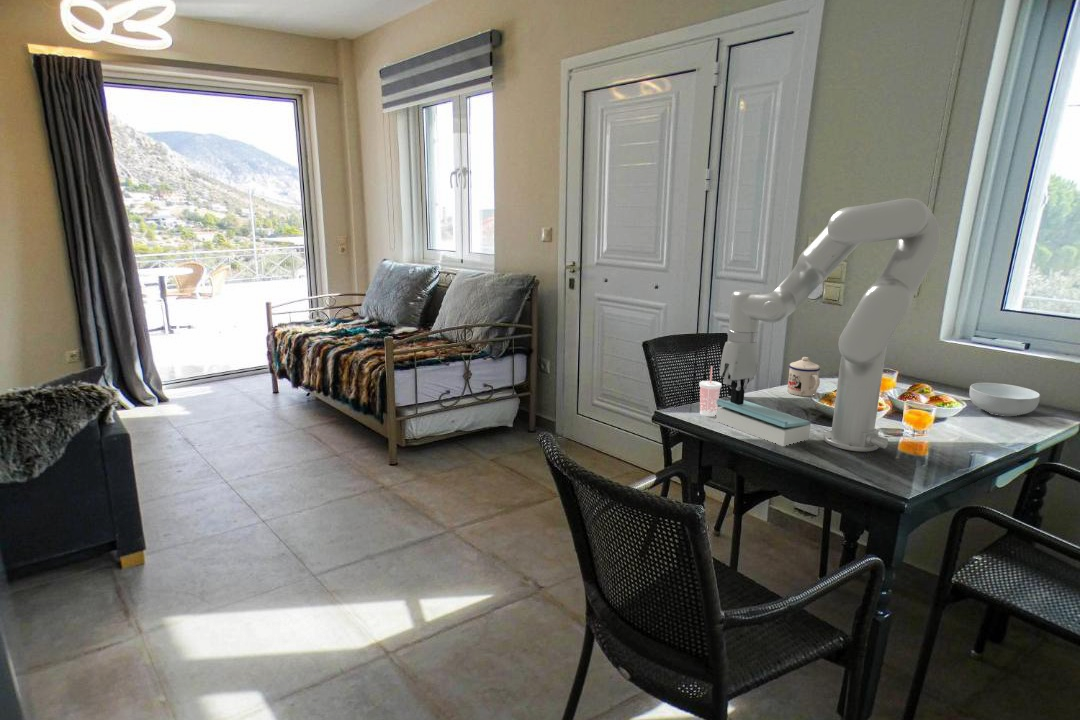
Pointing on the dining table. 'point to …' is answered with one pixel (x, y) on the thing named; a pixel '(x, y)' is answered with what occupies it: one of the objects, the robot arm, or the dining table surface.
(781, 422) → the cover
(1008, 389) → the cereal bowl
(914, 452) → the dining table surface
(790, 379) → the teacup with lid
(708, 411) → the beverage cup
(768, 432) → the hinged pencil box
